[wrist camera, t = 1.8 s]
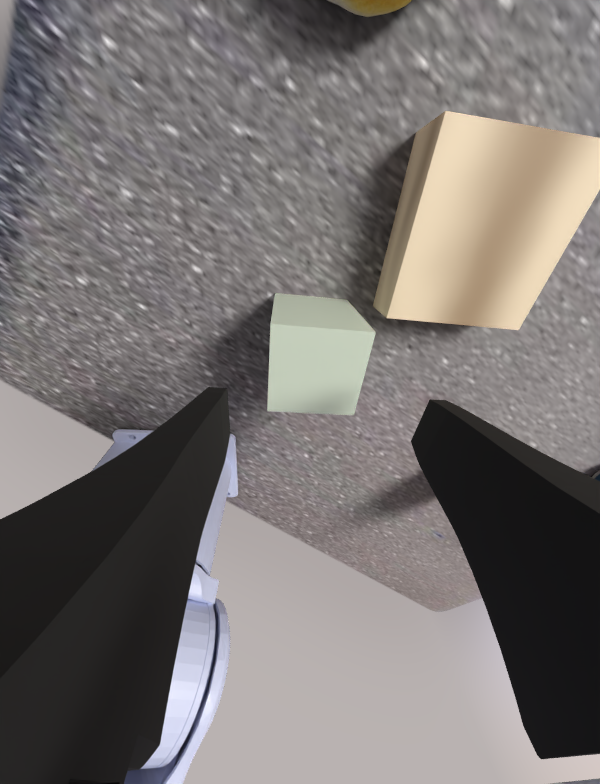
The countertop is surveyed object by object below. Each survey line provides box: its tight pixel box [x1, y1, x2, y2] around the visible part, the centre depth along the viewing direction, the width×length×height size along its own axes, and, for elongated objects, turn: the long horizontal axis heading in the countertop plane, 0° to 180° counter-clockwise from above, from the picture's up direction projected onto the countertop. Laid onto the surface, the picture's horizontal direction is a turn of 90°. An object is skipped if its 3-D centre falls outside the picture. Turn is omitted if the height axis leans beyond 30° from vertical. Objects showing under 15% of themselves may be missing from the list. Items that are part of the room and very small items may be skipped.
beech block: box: [373, 111, 600, 330], centre depth 14 cm, size 8×8×3 cm
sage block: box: [267, 293, 376, 415], centre depth 14 cm, size 4×4×6 cm
